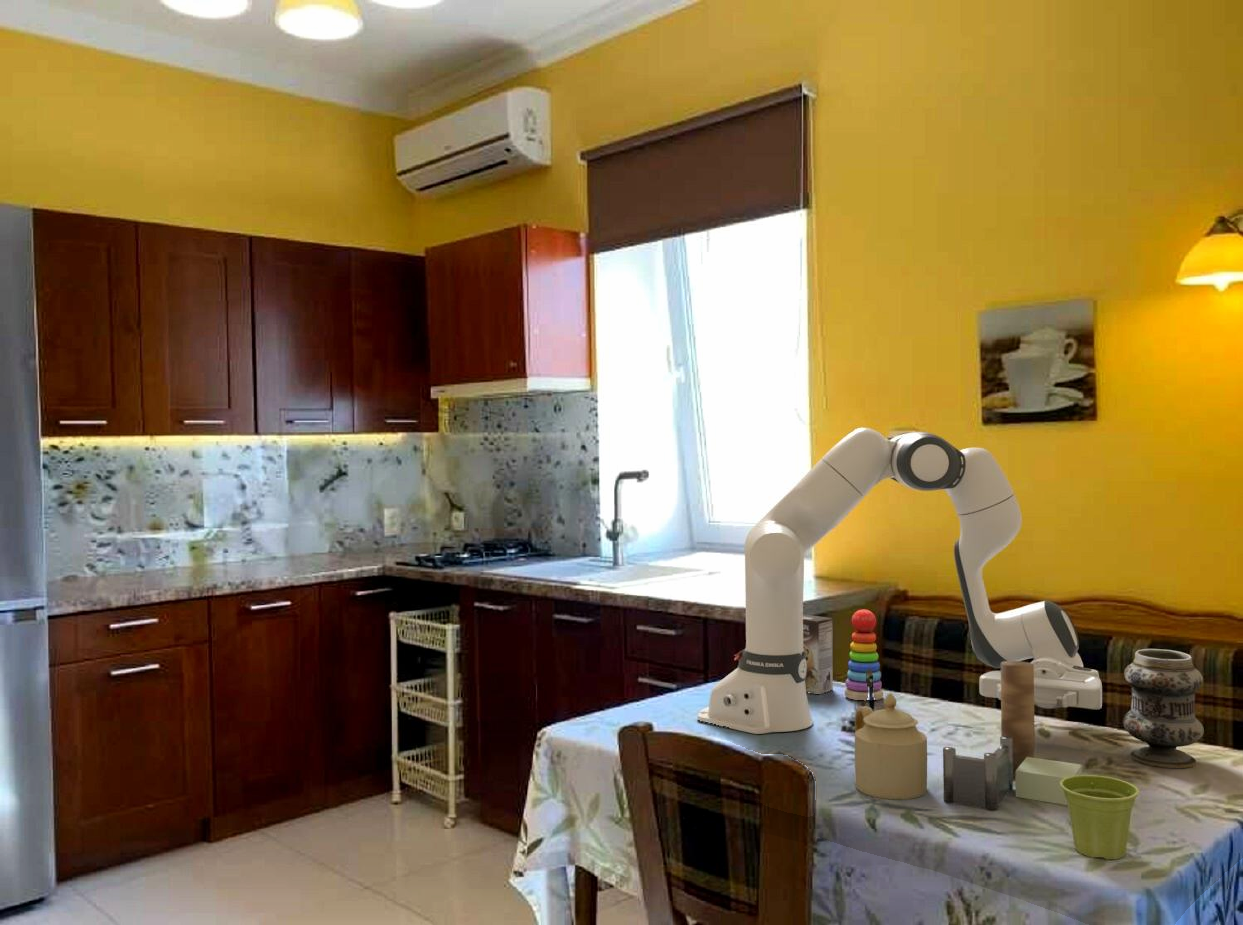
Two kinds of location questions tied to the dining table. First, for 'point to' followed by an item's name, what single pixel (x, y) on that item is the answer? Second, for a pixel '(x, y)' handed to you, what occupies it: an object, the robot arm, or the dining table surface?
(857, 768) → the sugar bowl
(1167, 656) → the apothecary jar
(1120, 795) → the plant pot
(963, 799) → the corner post block
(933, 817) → the dining table surface
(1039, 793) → the block
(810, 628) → the coffee box
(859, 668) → the stacking toy
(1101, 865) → the dining table surface
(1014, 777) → the brown wooden cylinder
